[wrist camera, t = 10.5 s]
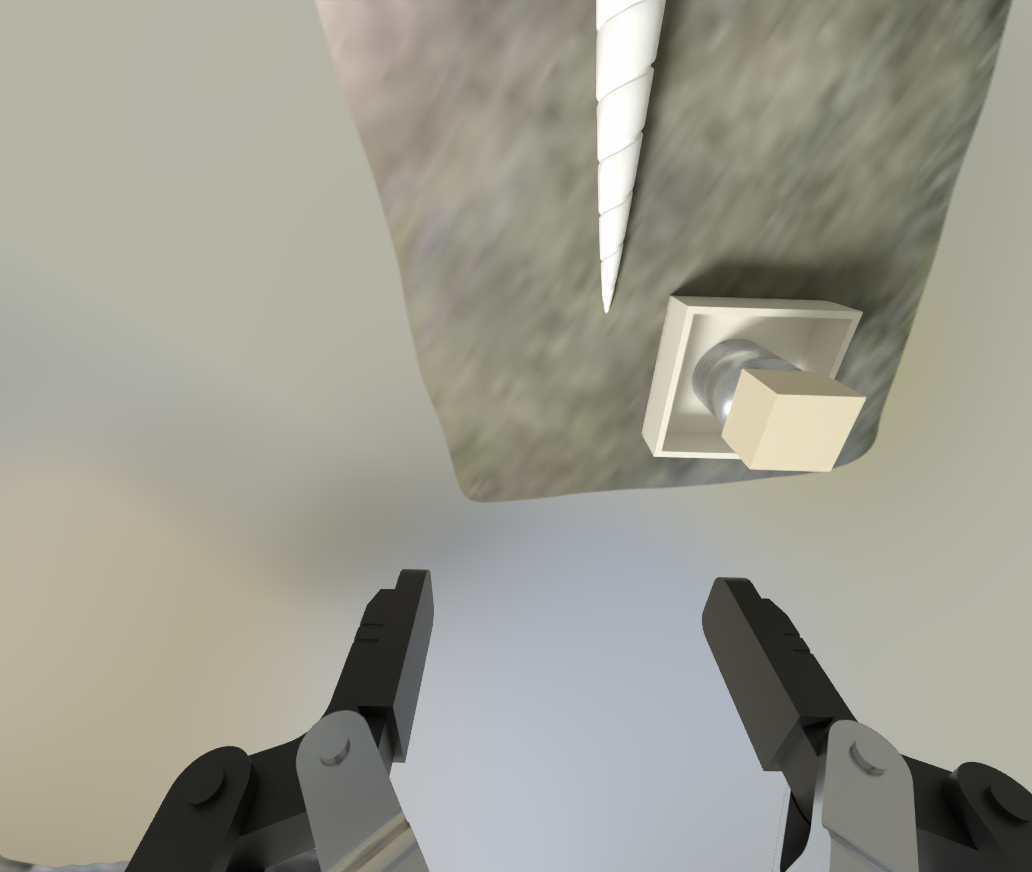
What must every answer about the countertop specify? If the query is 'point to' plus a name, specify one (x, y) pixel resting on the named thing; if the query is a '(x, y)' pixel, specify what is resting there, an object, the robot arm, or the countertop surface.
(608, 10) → the unicorn horn
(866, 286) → the countertop surface
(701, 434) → the box
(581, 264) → the countertop surface
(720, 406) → the tin can
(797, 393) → the carton
